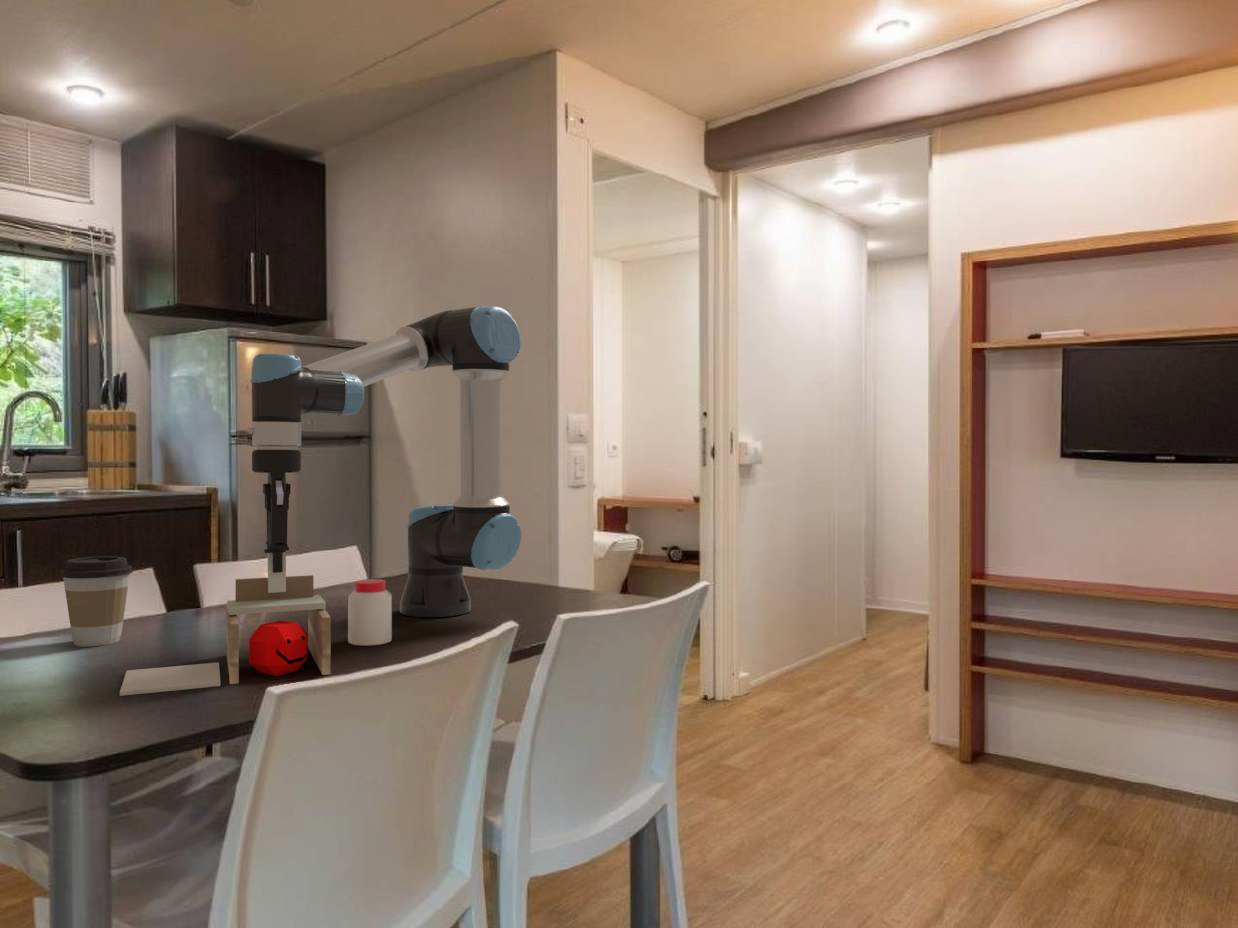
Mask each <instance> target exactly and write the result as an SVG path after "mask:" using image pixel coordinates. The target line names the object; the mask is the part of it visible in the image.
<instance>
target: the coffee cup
mask: <svg viewBox="0 0 1238 928" xmlns="http://www.w3.org/2000/svg"><path fill="white" fill-rule="evenodd" d="M132 573H134V572H133V566H132V565H131V564H128V560H127V558H126V557H123V556H115V555H114V556H112V555H111V556H110V555H109V556H107V555H106V556H88V557H78V558H72V559H71V558H70V559H69V560H67V561H66V563H65V567H64V568H62V569H61V570H60V575H59V576H60V578H63V584H64V591H65V599H66V605H67V611H68V619H69V624H70V625H69V626H70V633H71V638H72V641H73V645H74V646H77V647H81V648H82V647H83V648H84V647H85V648H86V647H87V648H89V647H90V648H91V647H102V646H107V645H113V644H116V643H118V642H120V638H121V636H122V632H123V624H124V619H125V618H124V617H125V610H126V603H127V594H128V588H129V581H130V574H132Z"/></svg>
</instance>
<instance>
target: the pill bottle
mask: <svg viewBox="0 0 1238 928" xmlns="http://www.w3.org/2000/svg"><path fill="white" fill-rule="evenodd" d="M386 582H387V581H386V580H385V579H378V578H376V579H375V578H374V579H373V578H372V579H370V578H369V579H368V578H367V579H360V580H358V579H357V580H355V581H354V590H353V591H352V592H351V593H350V594H349V595H348V596H347V598H348V599H347V600H348V601H347V602H348V603H347V606H348V608H347V609H348V610H347V616H348V617H347V619H348V620H347V625H348V626H347V628H348V629H347V642H348V643H349V644H350V645H353V646H363V647H364V646H378V645H384V644H387V643H390V642H391V641H392V640H393V630H392V629H393V595H392V593H391V592H390V591H389V590H388V589H386V586H387V583H386Z"/></svg>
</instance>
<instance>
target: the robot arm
mask: <svg viewBox="0 0 1238 928" xmlns="http://www.w3.org/2000/svg"><path fill="white" fill-rule="evenodd" d="M521 347H522V337H521V331H520V328H519V325H518V323H517V322H516V320H515V319H514V318H513V316H512V314H511V313H510V312H509V311H508V310H506V309H504V308H502V307H500V306H495V305H478V306H474V307H467V308H461V309H452V310H444V311H440V312H438V313H435V314H433V315H430V316H427V317H425V318H422V319H419V320H417V321H415V322H413V323H411V324H408V325H405V326H402V327H399V328H398V329H397V330H396V332H395V333H394V335H391V336H388V337H385V338H382V339H379V340H377V341H373V342H371V343H367V344H365V345H362V346H359V347H356V348H354V349H350V350H348V351H347V350H346V351H344V352H341V353H338V354H336V355H333V356H330V357H327V358H323V359H321V360H318V361H315V362H312V363H309V364H307V365H304V366H303V365H302V361H301V358H300V357H299V355H295V354H288V353H273V352H272V353H270V352H269V353H259V354H257V355H255V356H254V358H253V359H252V366H251V377H250V378H251V379H250V383H251V422H252V424H251V425H252V427H248V429H247V433H248V434H251V435H252V434H253V435H252V436H251V438H252V439H251V440H252V441H251V442H252V443H251V444H252V446H253V447H256V449H253V451H251V470H252V472H254V473H259V474H262V473H263V474H267V483H263V484H262V493H263V494H264V509H265V511H266V512H265V513H266V514H265V515H266V541H265V543H266V548H264V549H263V550H264V554H267V578H268V593H274V592H286V577H287V553H286V552H288V551H289V550H290V547H289V546H288V545H289V544H288V516H289V515H288V511H289V510H290V509H289V508H290V494H291V483H287V481H286V480H287V479H286V474H287V473H288V474H289V473H290V474H292V473H293V474H294V473H299V472H301V470H302V452H300V449H299V450H298V447H300V446H302V416H315V415H316V416H320V415H322V416H323V415H327V416H330V415H332V416H333V415H334V416H335V415H336V416H340V417H341V416H350V415H351V416H352V415H355V414H356V413H358V412H359V411H360V410H361V408H362V407H363V405H364V401H365V387H367V386H370V385H372V384H375V383H377V382H380V381H382V380H385V379H388V378H390V377H394V376H395V375H398V374H401V373H404V372H406V371H411V372H420V371H422V370H425V369H427V368H428V369H429V368H433V367H435V368H436V367H449V366H452V373H453V374H454V375H455V376H456V377H457V379H458V380H459V388H460V389H459V391H460V393H459V395H460V396H459V399H460V400H459V402H460V403H459V409H460V411H459V413H460V415H459V417H460V418H459V421H460V422H459V423H460V425H459V428H460V429H459V431H460V433H459V434H460V437H459V438H460V439H459V440H460V443H459V444H460V445H459V446H460V449H459V450H460V451H459V453H460V463H459V464H460V496H459V498H458V499H456V501H455V502H454V503H453V504H450V503H449V504H440V505H429V506H422V507H421V506H420V507H415V508H413V509H411V511H410V512H409V514H408V524H407V545H408V546H407V554H408V555H407V557H408V559H407V561H408V563H407V564H408V571H407V572H408V573H407V574H408V576H407V580H406V582H405V586H404V590H403V592H402V594H401V599H400V601H399V613H400V614H401V615H404V616H409V617H413V618H414V617H417V618H445V617H455V616H460V615H465V614H467V613H470V612H471V610H472V609H471V608H472V604H471V603H472V601H471V597H470V594H469V590H468V587H467V584H466V582H465V579H464V567H465V568H473V569H474V568H475V569H477V570H481V571H486V570H501V569H503V568H505V567H507V566H509V564H510V563H511V562H512V561H513V559H514V558H515V557H516V555H517V553H518V552H519V550H520V547H521V543H522V528H521V527H522V526H521V524H520V523H519V522H518V519H517V518H516V517H515V516H514V515H512V514H511V513H510V512H511V511H510V506H511V504H510V502H508V500H507V499H506V498H505V497H504V495H503V385H502V384H503V380H504V379H506V377H507V376H508V375H509V374H510V362H513V361H514V360H515V359H516V358H517V357H518V354H519V353H520V352H521Z"/></svg>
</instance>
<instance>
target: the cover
mask: <svg viewBox="0 0 1238 928" xmlns="http://www.w3.org/2000/svg"><path fill="white" fill-rule="evenodd" d="M234 596H235V599H233V600H231V599H230V600H227V601H226V603H227V607H228V613H229V615H237V616H239V615H253V614H268V613H281V612H282V613H284V612H296V611H308V610H314V609H325V610H326V609H327V603H326V601H325V600H324V598H323V597H322V596H321V594H315V595H314V575H313V574H312V575H308V574H307V575H291V576H289V575H288V576H286V592H274V593H268V577H252V578H251V577H250V578H236V579H235V595H234Z"/></svg>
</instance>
